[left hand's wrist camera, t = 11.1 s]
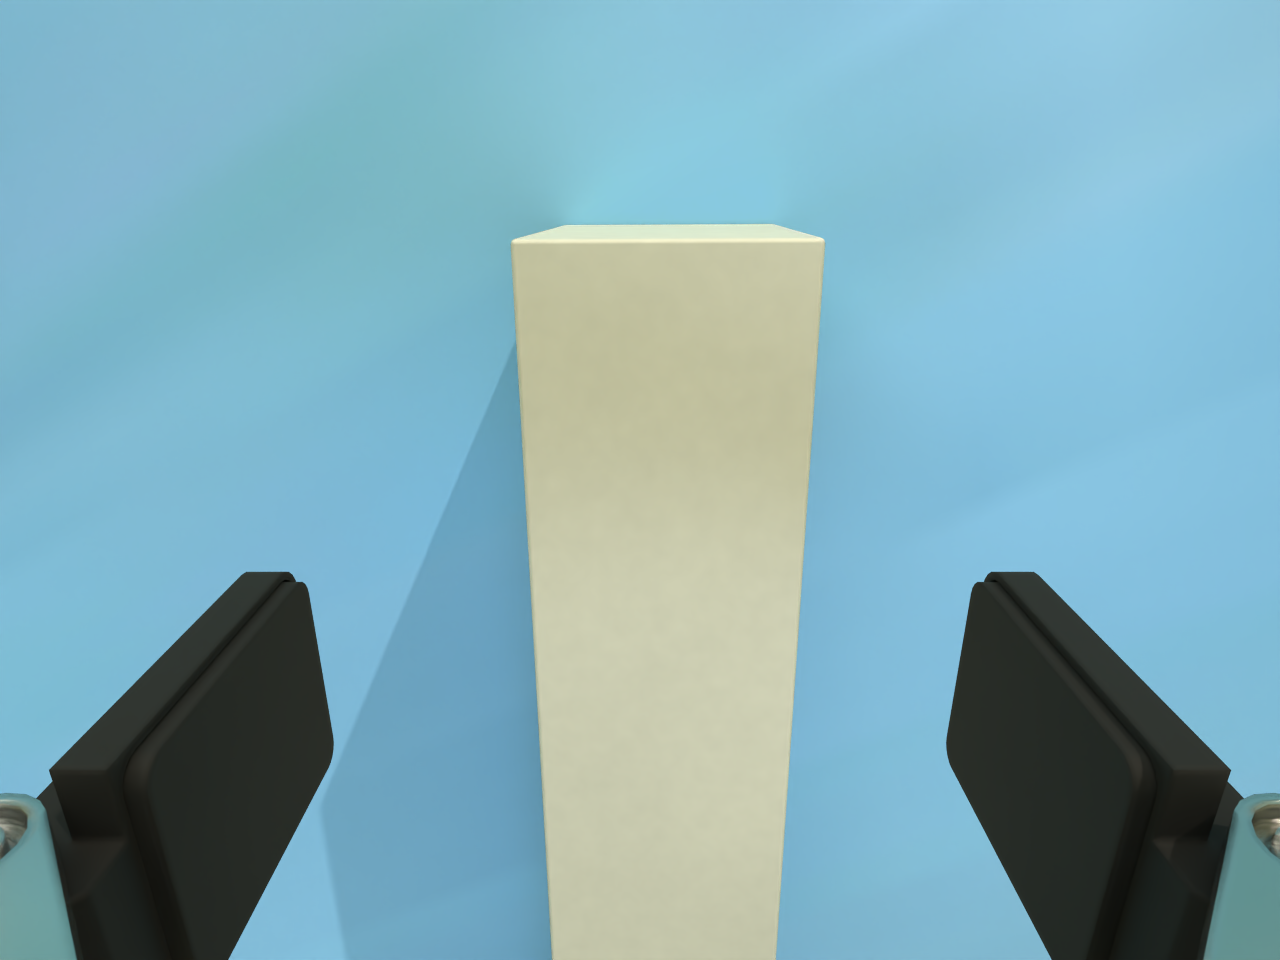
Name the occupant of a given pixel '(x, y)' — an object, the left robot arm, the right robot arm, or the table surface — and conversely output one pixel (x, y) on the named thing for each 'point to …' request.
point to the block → (666, 572)
